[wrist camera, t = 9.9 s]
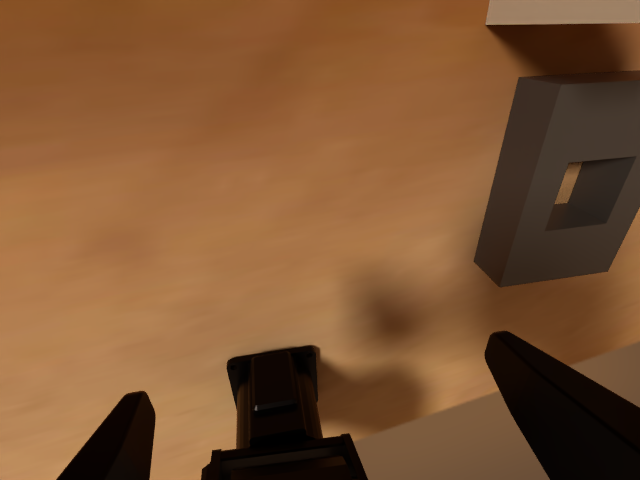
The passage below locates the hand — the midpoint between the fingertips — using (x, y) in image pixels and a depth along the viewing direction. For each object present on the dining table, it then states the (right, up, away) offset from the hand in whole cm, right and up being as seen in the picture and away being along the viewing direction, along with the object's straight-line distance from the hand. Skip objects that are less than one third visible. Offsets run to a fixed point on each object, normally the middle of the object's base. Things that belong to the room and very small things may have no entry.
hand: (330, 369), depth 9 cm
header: (+14, +7, +13) cm, 21 cm away
